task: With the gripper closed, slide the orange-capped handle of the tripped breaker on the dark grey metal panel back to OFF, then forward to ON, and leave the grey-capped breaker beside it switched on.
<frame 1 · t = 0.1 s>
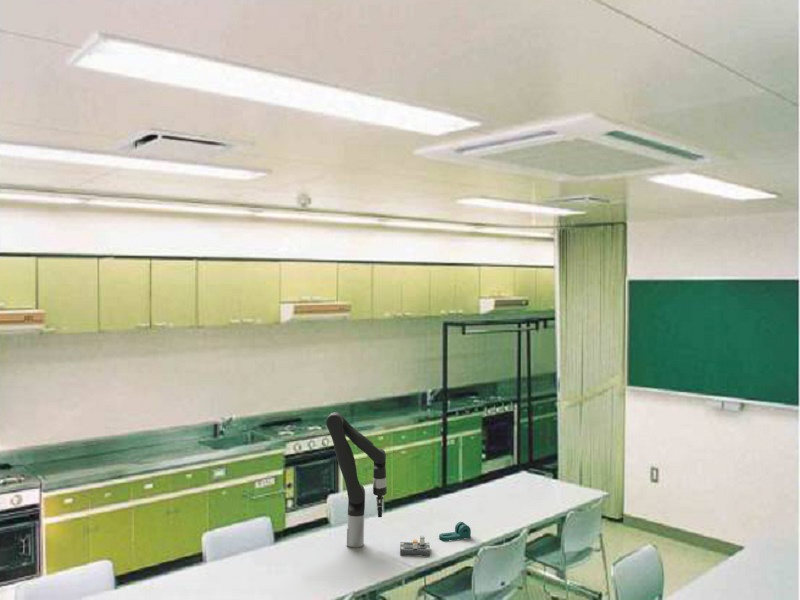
hand: (380, 514, 384), 17 cm above the table, tool pointing down, fingers open, 8 cm apart
tripped breaker: (415, 544, 373), point 5 cm above the table, slide at 4.0 cm
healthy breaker: (422, 540, 379), point 5 cm above the table, slide at 8.0 cm
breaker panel: (414, 551, 376), on the table
bracket: (453, 538, 398), on the table
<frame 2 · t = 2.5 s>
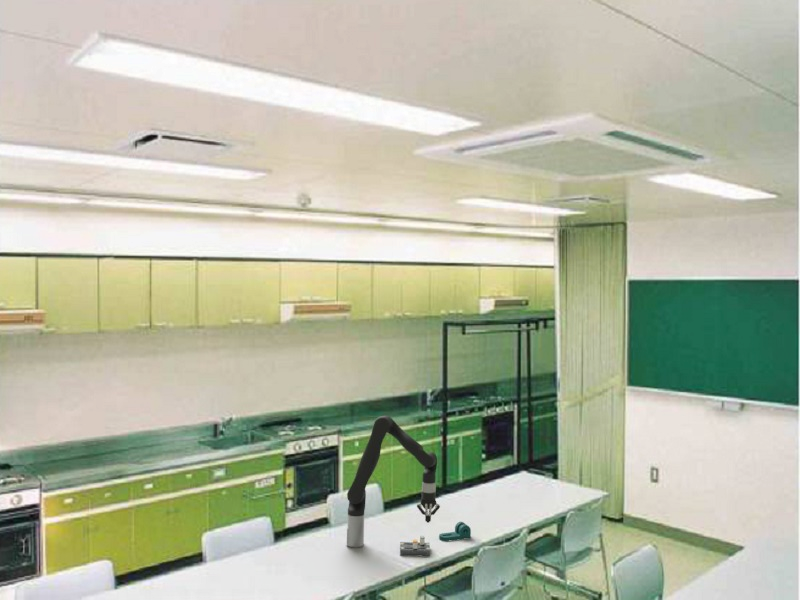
hand: (428, 522, 373), 18 cm above the table, tool pointing down, fingers closed
nothing on the table moved.
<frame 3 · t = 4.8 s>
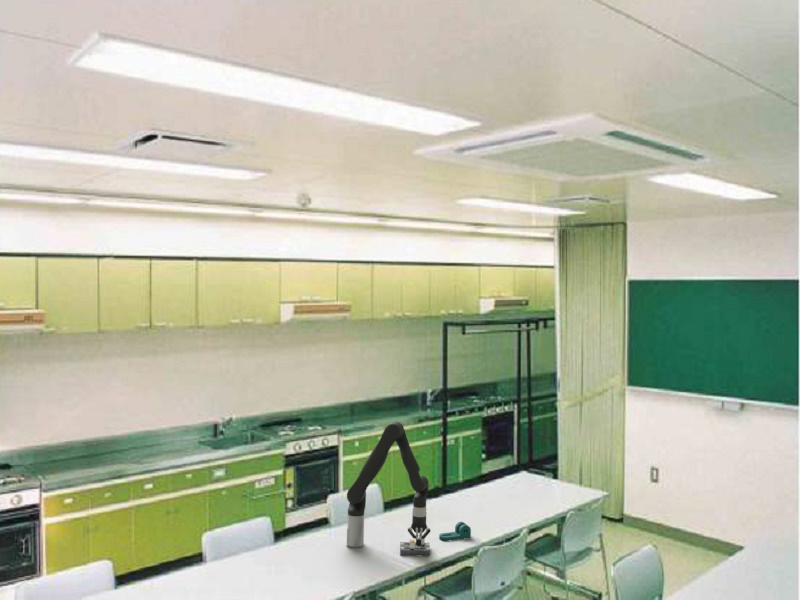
hand: (418, 545, 373), 4 cm above the table, tool pointing down, fingers closed
tripped breaker: (412, 544, 373), point 5 cm above the table, slide at 2.4 cm, touching gripper
everything else where it was.
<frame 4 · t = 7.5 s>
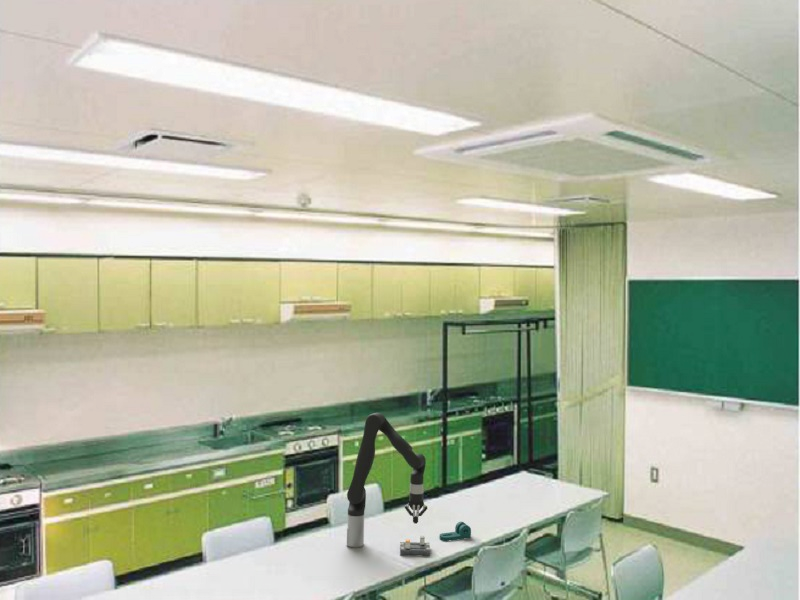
hand: (415, 523, 373), 17 cm above the table, tool pointing down, fingers closed
tripped breaker: (407, 543, 373), point 5 cm above the table, slide at -0.1 cm
everything else where it was.
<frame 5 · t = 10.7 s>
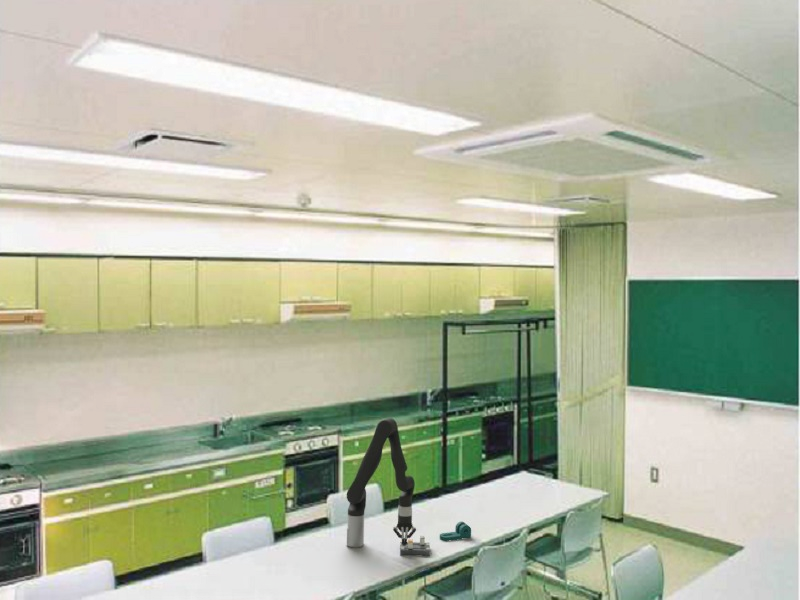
hand: (404, 545, 373), 5 cm above the table, tool pointing down, fingers closed
tripped breaker: (410, 544, 373), point 5 cm above the table, slide at 1.4 cm, touching gripper
everything else where it was.
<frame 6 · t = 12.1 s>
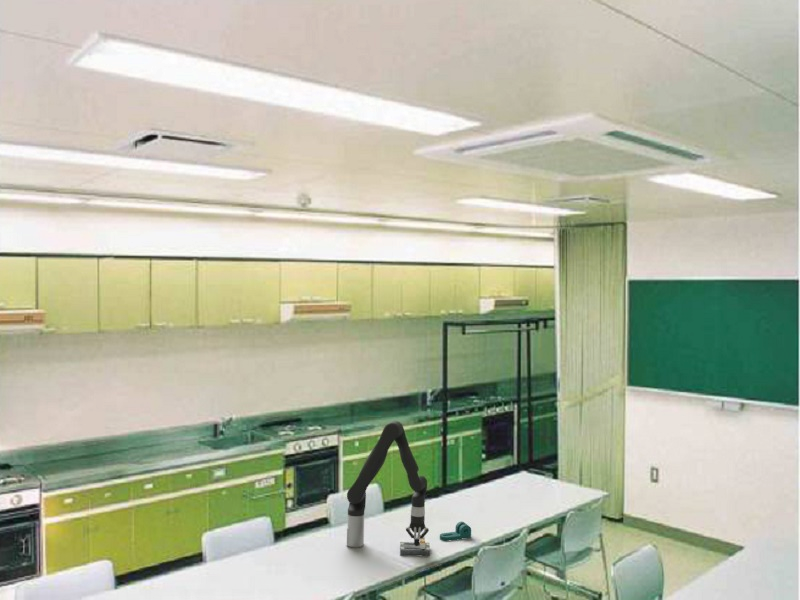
hand: (416, 545, 373), 5 cm above the table, tool pointing down, fingers closed
tripped breaker: (422, 544, 373), point 5 cm above the table, slide at 8.1 cm, touching gripper
everything else where it was.
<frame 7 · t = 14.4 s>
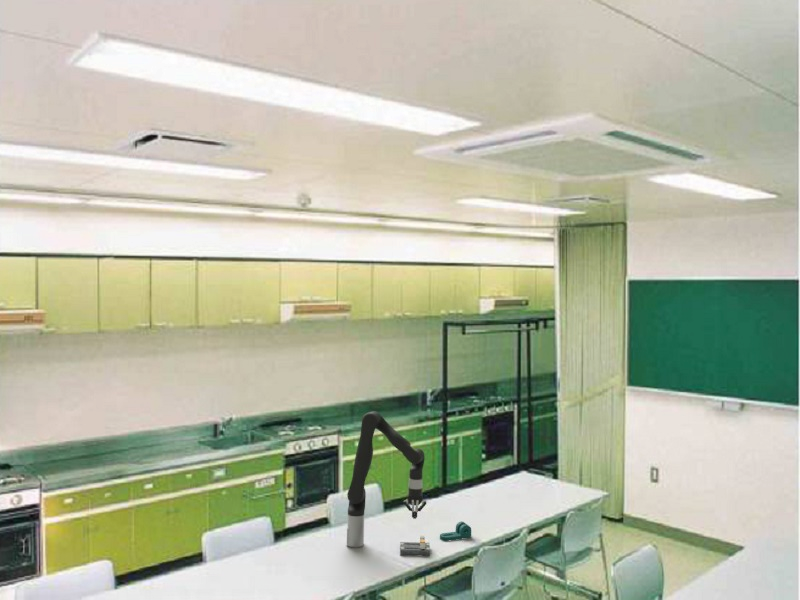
hand: (414, 518, 373), 19 cm above the table, tool pointing down, fingers closed
tripped breaker: (422, 544, 373), point 5 cm above the table, slide at 8.1 cm
everything else where it was.
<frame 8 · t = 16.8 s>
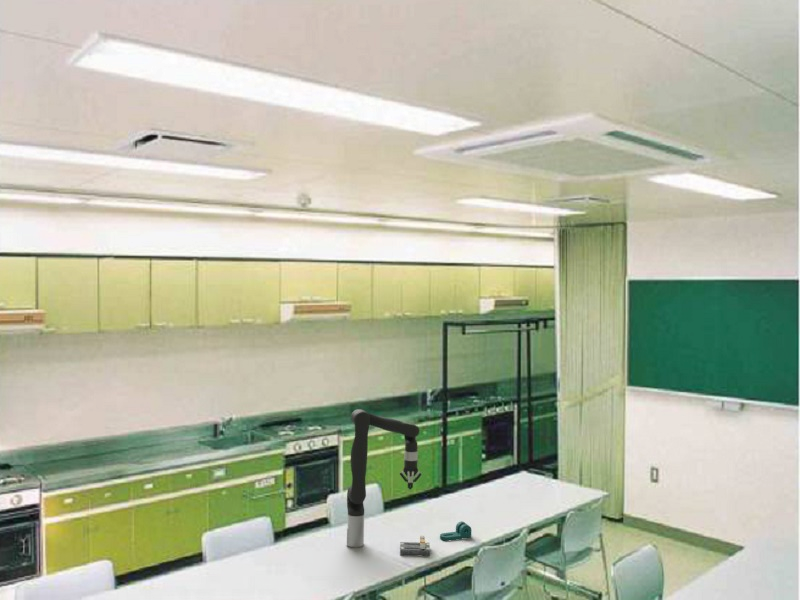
hand: (410, 488, 393), 29 cm above the table, tool pointing down, fingers closed
nothing on the table moved.
at the end: tripped breaker slide at 8.1 cm; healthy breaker slide at 8.0 cm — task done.
